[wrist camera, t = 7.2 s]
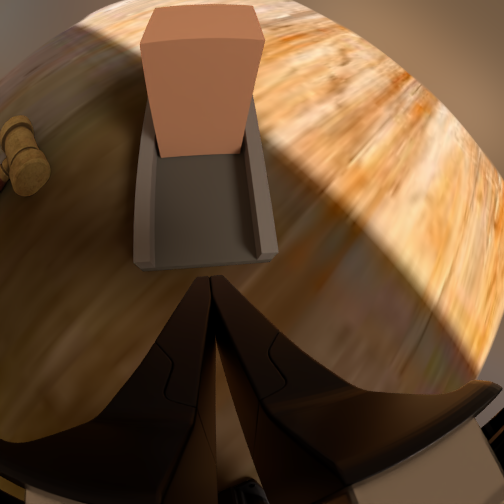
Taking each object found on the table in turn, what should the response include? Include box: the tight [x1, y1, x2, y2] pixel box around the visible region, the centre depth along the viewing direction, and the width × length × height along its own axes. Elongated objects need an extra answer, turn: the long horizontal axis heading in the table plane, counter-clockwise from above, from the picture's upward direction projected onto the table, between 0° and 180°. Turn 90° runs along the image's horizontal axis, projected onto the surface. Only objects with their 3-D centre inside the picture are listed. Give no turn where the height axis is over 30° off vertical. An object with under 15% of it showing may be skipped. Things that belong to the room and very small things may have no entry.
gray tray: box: [133, 94, 278, 271], centre depth 22 cm, size 18×10×4 cm, turn 7°
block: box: [140, 4, 265, 158], centre depth 18 cm, size 6×7×12 cm
